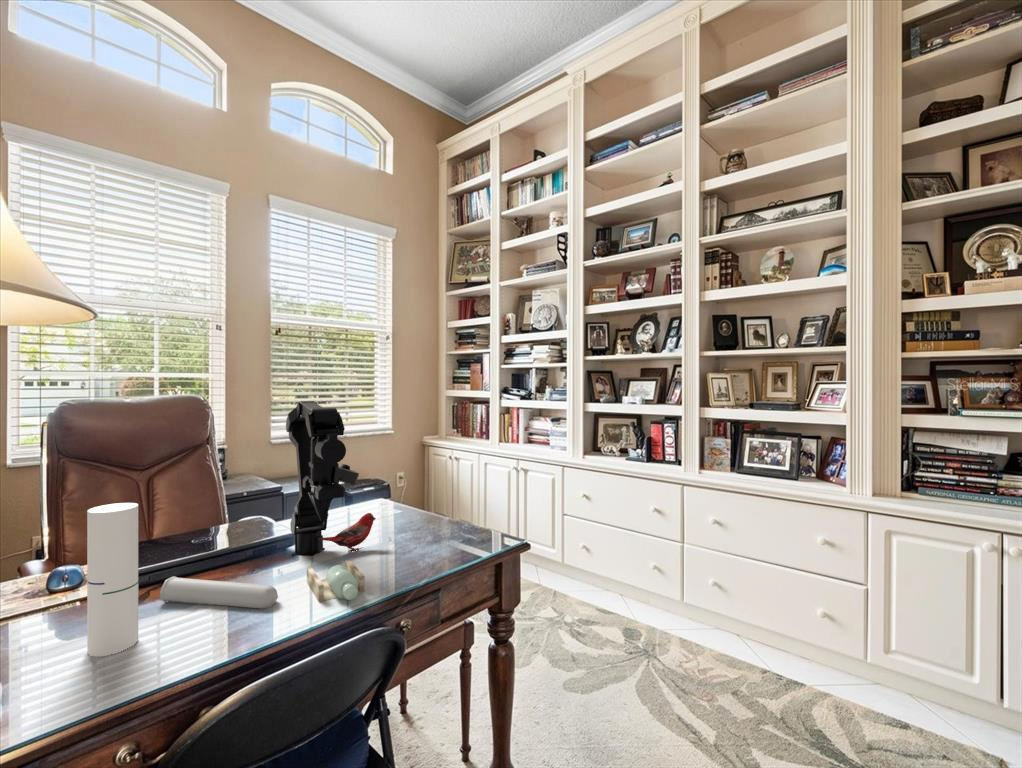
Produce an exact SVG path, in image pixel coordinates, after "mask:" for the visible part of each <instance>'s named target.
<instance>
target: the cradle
mask: <svg viewBox="0 0 1022 768" xmlns="http://www.w3.org/2000/svg"><path fill="white" fill-rule="evenodd" d="M344 566H345V567H346V568H347V569H348V570H349V571H350V573H351V574H352V575H353V576H354V577H355V578H356V580H357V582H358V587H357V590H358V593H357V594H360V593H364V592H365V575H364V574H363V573H362V572H361V571H360V569H359V568H358V567H357V566H356V565H355V564H354V563H353V562H352V561H351V560H350V559H345V561H344ZM306 584H307V586H308V587H309V589H310V590H311V592H312V594H313V595H314V597H315V598H316V600H317V602H318V603H322V602H326V601H330V600H334V599H339V598H338V597H337V596H336V594H335V593H334V592H333V590H332V589H331V588H330V586H329V585H328V583H327V581H326V578H323V579H320V578H319V576H318V575H317V573H316V571H315V570H314V569H313V567H311V566H310V567H307V568H306Z"/></svg>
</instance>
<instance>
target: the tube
mask: <svg viewBox="0 0 1022 768" xmlns="http://www.w3.org/2000/svg"><path fill="white" fill-rule="evenodd" d="M159 593H160V594H159V595H160V596H159V597H160V598H159V599H160V600H159V601H162V602H164V603H168V602H167V601H174V602H173V603H181V602H185V603H184V604H193V603H196V605H204V604H207V605H212V606H213V605H214V606H226V607H236V608H237V607H239V608H251V609H262V610H263V609H268V608H271V607H273V606H274V604H275V603H276V602H277V600H278V599H279V595H278V594H279V593H278V591H277V589H276V588H275V587H274V586H272V585H271V584H270V585H269V584H259V583H248V582H247V583H246V582H235V581H223V580H210V579H209V580H208V579H199V578H188V577H187V578H185V577H177V576H175V575H174V576H171V577H169V578H167V579H165V580H164V582H163V584H162V586H161V588H160V592H159Z"/></svg>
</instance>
